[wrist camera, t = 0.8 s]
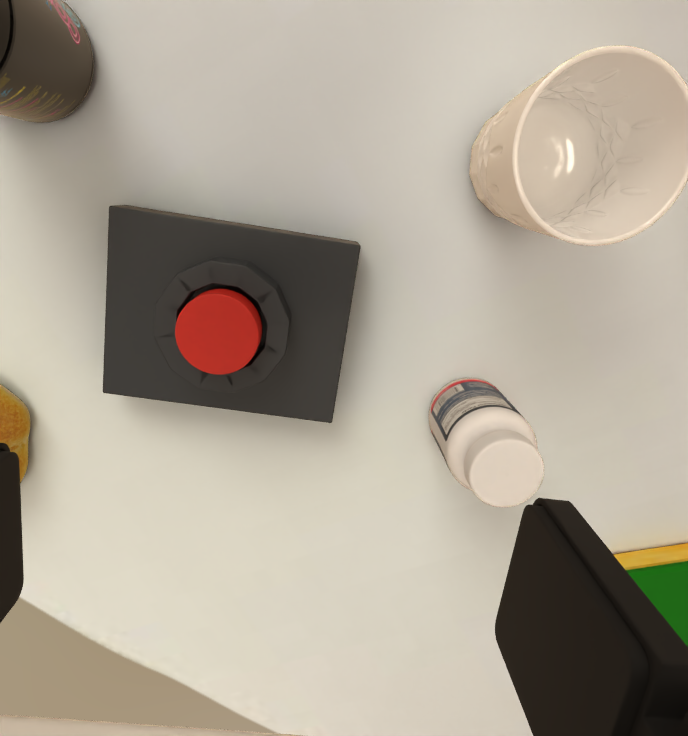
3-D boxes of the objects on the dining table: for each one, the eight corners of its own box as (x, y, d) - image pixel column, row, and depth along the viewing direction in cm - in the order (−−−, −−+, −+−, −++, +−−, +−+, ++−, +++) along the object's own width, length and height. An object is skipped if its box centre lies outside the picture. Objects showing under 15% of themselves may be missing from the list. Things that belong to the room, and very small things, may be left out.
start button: (185, 282, 31) (177, 287, 29) (266, 294, 31) (263, 300, 29) (180, 359, 32) (171, 368, 30) (257, 370, 32) (254, 380, 31)
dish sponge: (699, 540, 41) (722, 560, 39) (693, 686, 45) (713, 712, 43) (603, 554, 41) (619, 575, 39) (605, 699, 46) (621, 726, 43)
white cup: (467, 242, 34) (521, 261, 25) (450, 104, 32) (503, 66, 23) (594, 218, 34) (699, 227, 25) (587, 76, 32) (699, 26, 22)
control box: (124, 204, 33) (94, 206, 29) (358, 241, 34) (363, 248, 30) (116, 380, 36) (89, 405, 32) (331, 409, 37) (332, 436, 33)
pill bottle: (503, 446, 39) (554, 517, 30) (427, 451, 39) (457, 523, 30) (506, 373, 37) (560, 425, 29) (427, 377, 37) (457, 432, 28)
